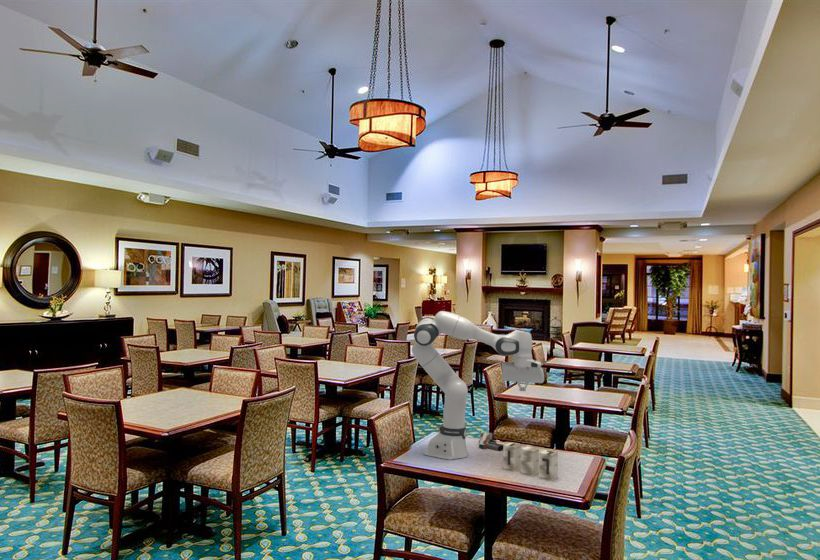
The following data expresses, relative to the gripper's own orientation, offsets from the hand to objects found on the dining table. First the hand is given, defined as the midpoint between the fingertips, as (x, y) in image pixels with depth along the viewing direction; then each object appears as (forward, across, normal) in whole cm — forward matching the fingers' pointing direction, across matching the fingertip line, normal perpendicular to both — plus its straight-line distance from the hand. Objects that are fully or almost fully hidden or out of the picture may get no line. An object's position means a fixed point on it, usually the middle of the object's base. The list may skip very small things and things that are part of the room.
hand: (522, 391), depth 252 cm
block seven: (+34, +14, -18) cm, 41 cm away
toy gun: (+35, -20, +26) cm, 48 cm away
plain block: (+34, +6, -15) cm, 38 cm away
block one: (+34, -3, -12) cm, 36 cm away
